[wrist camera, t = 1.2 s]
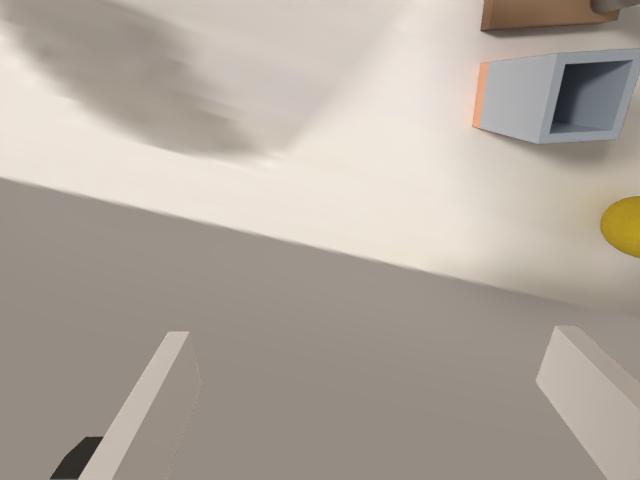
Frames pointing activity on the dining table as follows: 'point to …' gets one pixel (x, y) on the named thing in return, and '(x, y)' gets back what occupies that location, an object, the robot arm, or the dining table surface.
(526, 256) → the dining table surface
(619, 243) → the lemon
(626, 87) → the sleeve
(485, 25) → the pin board
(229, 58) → the dining table surface
